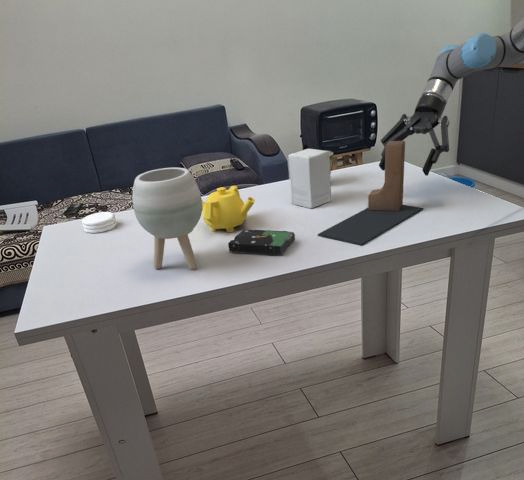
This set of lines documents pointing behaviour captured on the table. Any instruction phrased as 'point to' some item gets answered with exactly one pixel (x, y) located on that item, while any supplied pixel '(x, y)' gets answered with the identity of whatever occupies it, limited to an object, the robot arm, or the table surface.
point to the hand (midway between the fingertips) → (402, 170)
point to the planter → (168, 209)
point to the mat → (368, 224)
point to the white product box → (310, 177)
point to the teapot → (225, 209)
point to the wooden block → (390, 180)
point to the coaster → (99, 222)
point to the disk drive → (262, 242)
